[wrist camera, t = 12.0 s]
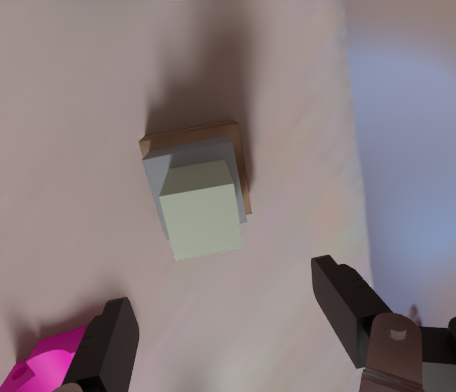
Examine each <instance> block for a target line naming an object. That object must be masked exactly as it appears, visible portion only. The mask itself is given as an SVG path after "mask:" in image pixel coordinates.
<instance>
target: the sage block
mask: <svg viewBox="0 0 456 392" xmlns="http://www.w3.org/2000/svg"><path fill="white" fill-rule="evenodd" d="M159 199H160V203H161V207H162V211H163V215H164V219H165V223H166V226H167V230H168V234H169V238H170V242H171V246H172V250H173V254H174V258H175V261H176V260H182V259H187V258H192V257H198V256H203V255H209V254H214V253H219V252H225V251H230V250H236V249H241V248H243V241H242V234H241V228H240V221H239V215H238V208H237V201H236V195H235V188H234V183H233V180H232V177H231V175H230V172H229V170H228V167H227V165H226V162H225V159H223V160H217V161H211V162H205V163H199V164H194V165H188V166H182V167H176V168H170V169H168V172H167V175H166V178H165V181H164V184H163V186H162V189H161V192H160V195H159Z"/></svg>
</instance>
